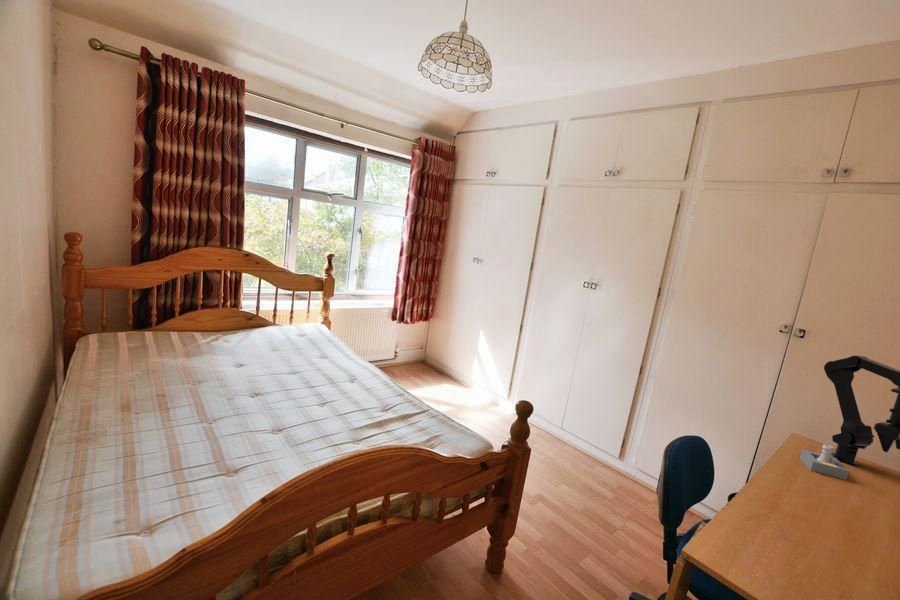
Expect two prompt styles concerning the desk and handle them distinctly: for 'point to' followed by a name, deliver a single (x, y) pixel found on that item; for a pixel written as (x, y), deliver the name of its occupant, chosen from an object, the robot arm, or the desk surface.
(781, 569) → the desk surface
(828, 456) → the rook chess piece
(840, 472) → the grey square tray
